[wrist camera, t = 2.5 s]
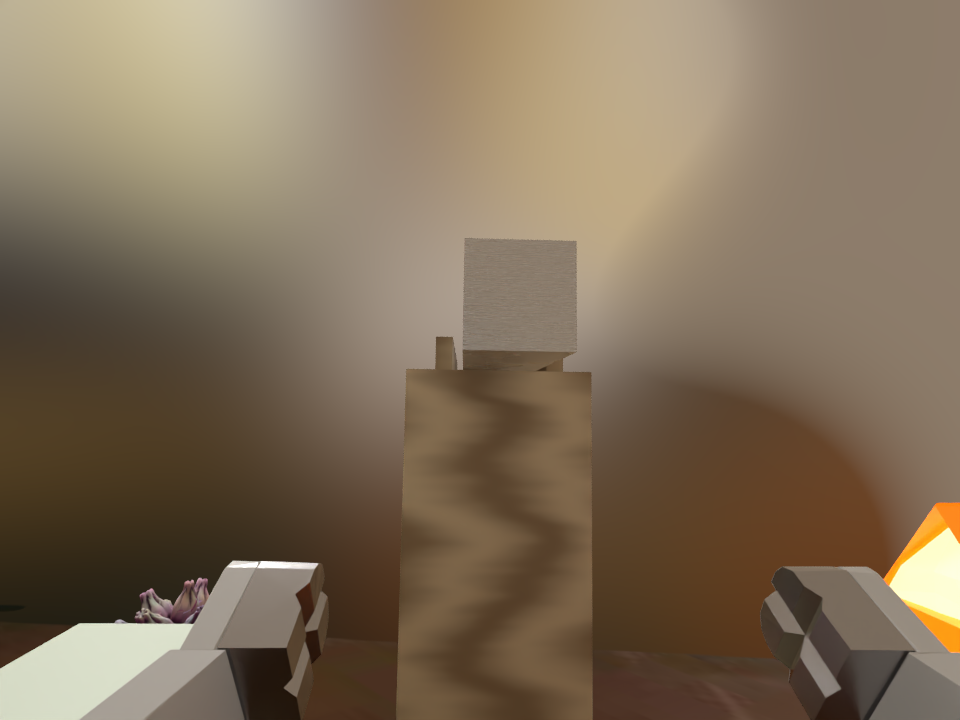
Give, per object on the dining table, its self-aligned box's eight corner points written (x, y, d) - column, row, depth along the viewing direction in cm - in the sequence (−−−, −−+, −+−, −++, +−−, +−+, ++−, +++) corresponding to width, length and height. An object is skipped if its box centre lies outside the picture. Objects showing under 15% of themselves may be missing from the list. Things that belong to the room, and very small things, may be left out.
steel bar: (462, 349, 15) (464, 238, 16) (463, 382, 39) (464, 338, 39) (576, 352, 15) (576, 241, 16) (508, 383, 39) (508, 339, 40)
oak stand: (388, 962, 22) (407, 336, 24) (420, 726, 38) (429, 363, 40) (593, 958, 22) (591, 339, 25) (539, 726, 38) (541, 365, 40)
